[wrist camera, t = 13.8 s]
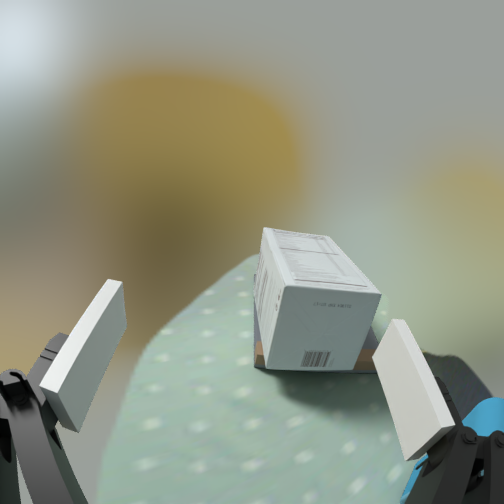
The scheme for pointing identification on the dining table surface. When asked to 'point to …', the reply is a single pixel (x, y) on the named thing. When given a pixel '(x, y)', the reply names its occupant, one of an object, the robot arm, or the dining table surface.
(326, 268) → the supplement box
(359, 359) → the topple mat
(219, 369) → the dining table surface
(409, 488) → the data package
